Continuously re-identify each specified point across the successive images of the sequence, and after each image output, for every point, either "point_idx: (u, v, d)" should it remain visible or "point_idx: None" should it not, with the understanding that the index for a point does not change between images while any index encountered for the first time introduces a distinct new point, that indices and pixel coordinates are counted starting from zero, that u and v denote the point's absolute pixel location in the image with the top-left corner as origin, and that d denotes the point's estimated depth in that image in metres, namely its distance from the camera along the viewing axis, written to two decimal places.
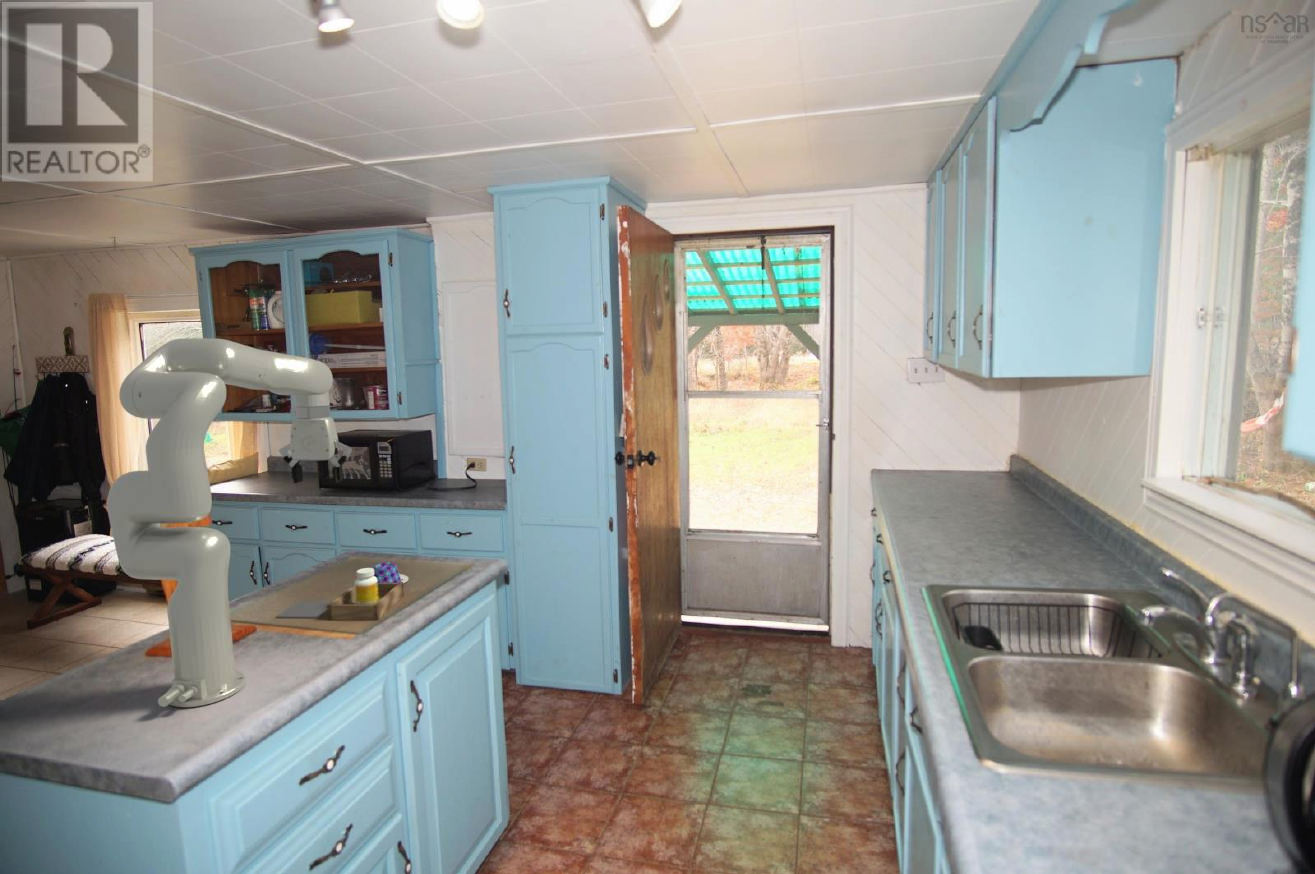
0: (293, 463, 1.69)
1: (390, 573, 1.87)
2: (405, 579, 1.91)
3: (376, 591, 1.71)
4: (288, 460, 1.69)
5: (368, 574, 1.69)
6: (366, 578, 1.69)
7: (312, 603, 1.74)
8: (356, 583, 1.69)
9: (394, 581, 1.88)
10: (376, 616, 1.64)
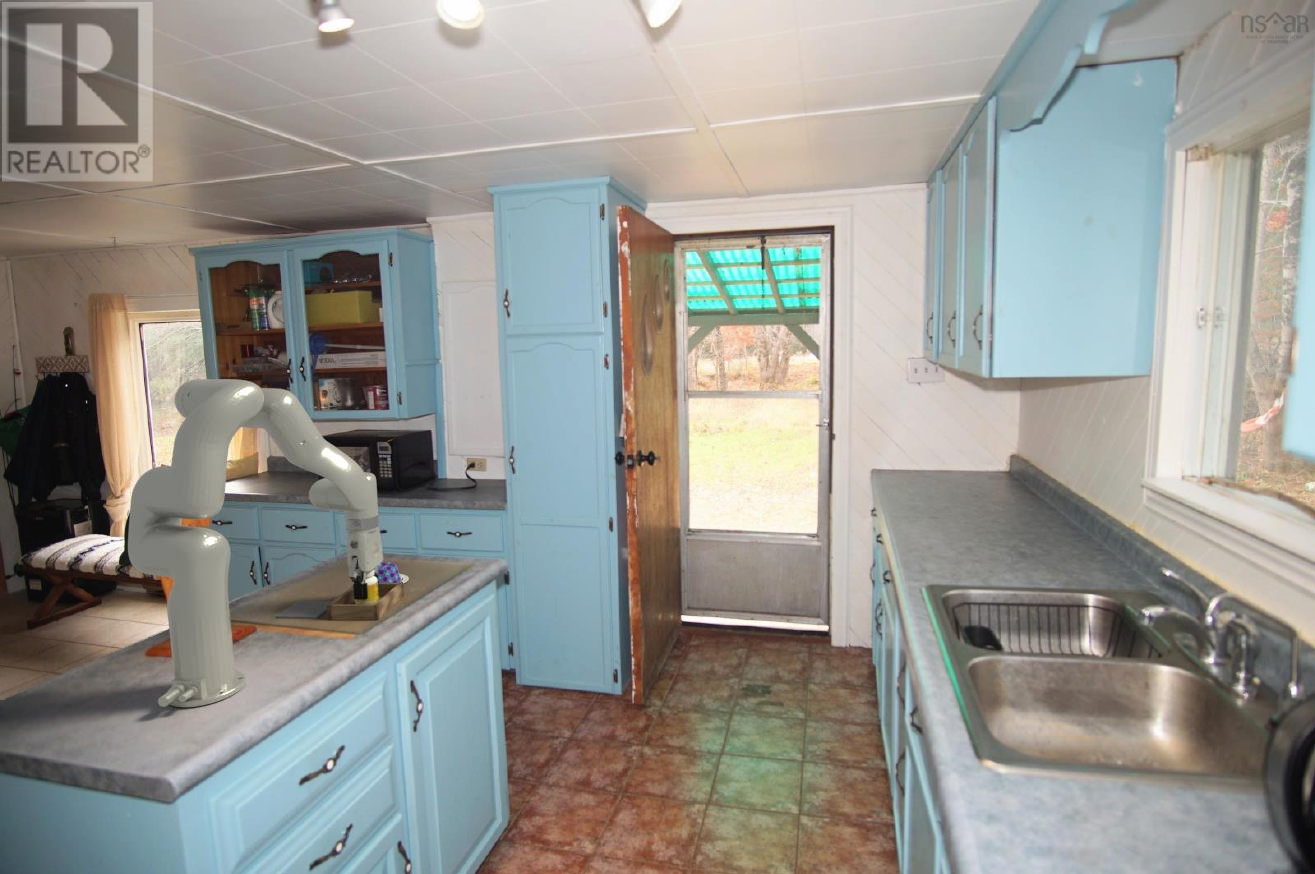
0: (364, 579, 1.67)
1: (390, 573, 1.87)
2: (405, 579, 1.91)
3: (376, 591, 1.71)
4: (360, 579, 1.66)
5: (368, 574, 1.69)
6: (366, 578, 1.69)
7: (312, 603, 1.74)
8: None
9: (394, 581, 1.88)
10: (376, 616, 1.64)
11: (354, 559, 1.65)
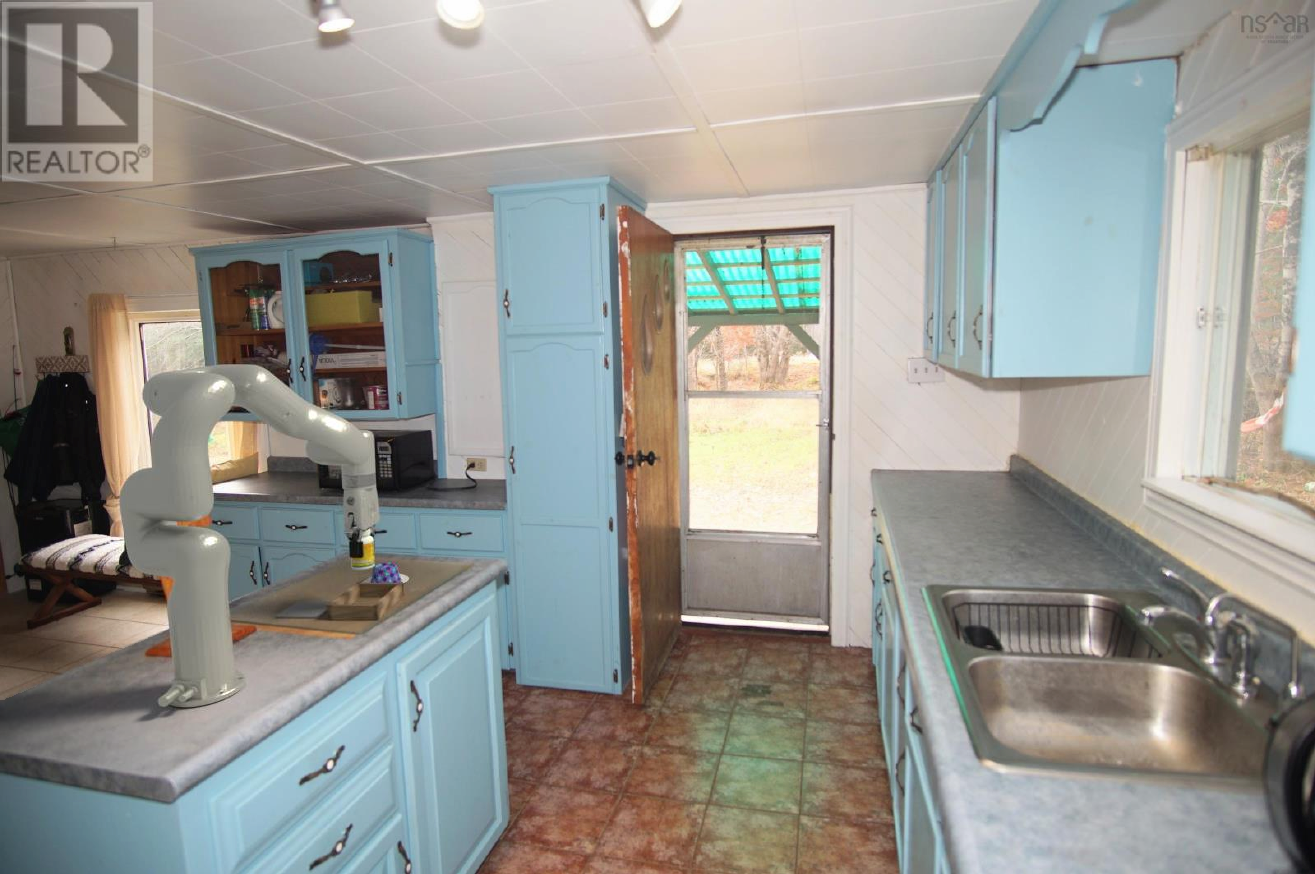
0: (360, 537, 1.65)
1: (390, 573, 1.87)
2: (405, 579, 1.91)
3: (372, 550, 1.69)
4: (356, 536, 1.64)
5: (364, 532, 1.67)
6: (362, 537, 1.67)
7: (312, 603, 1.74)
8: None
9: (393, 581, 1.88)
10: (376, 616, 1.64)
11: (350, 516, 1.63)
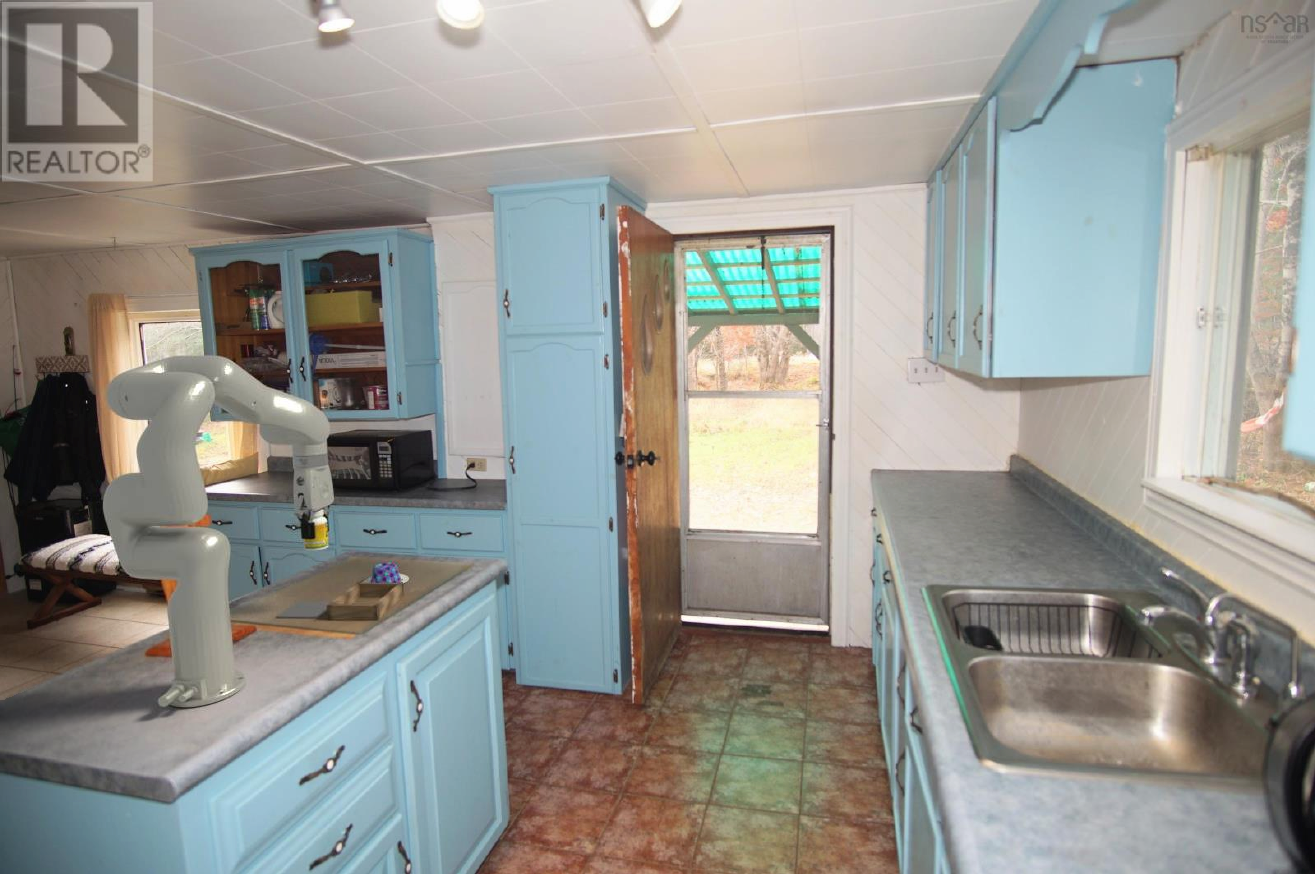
0: (312, 518, 1.64)
1: (389, 573, 1.87)
2: (405, 579, 1.91)
3: (325, 532, 1.67)
4: (306, 517, 1.62)
5: (316, 513, 1.66)
6: (314, 518, 1.66)
7: (312, 603, 1.74)
8: None
9: (393, 581, 1.88)
10: (376, 616, 1.64)
11: (300, 496, 1.62)
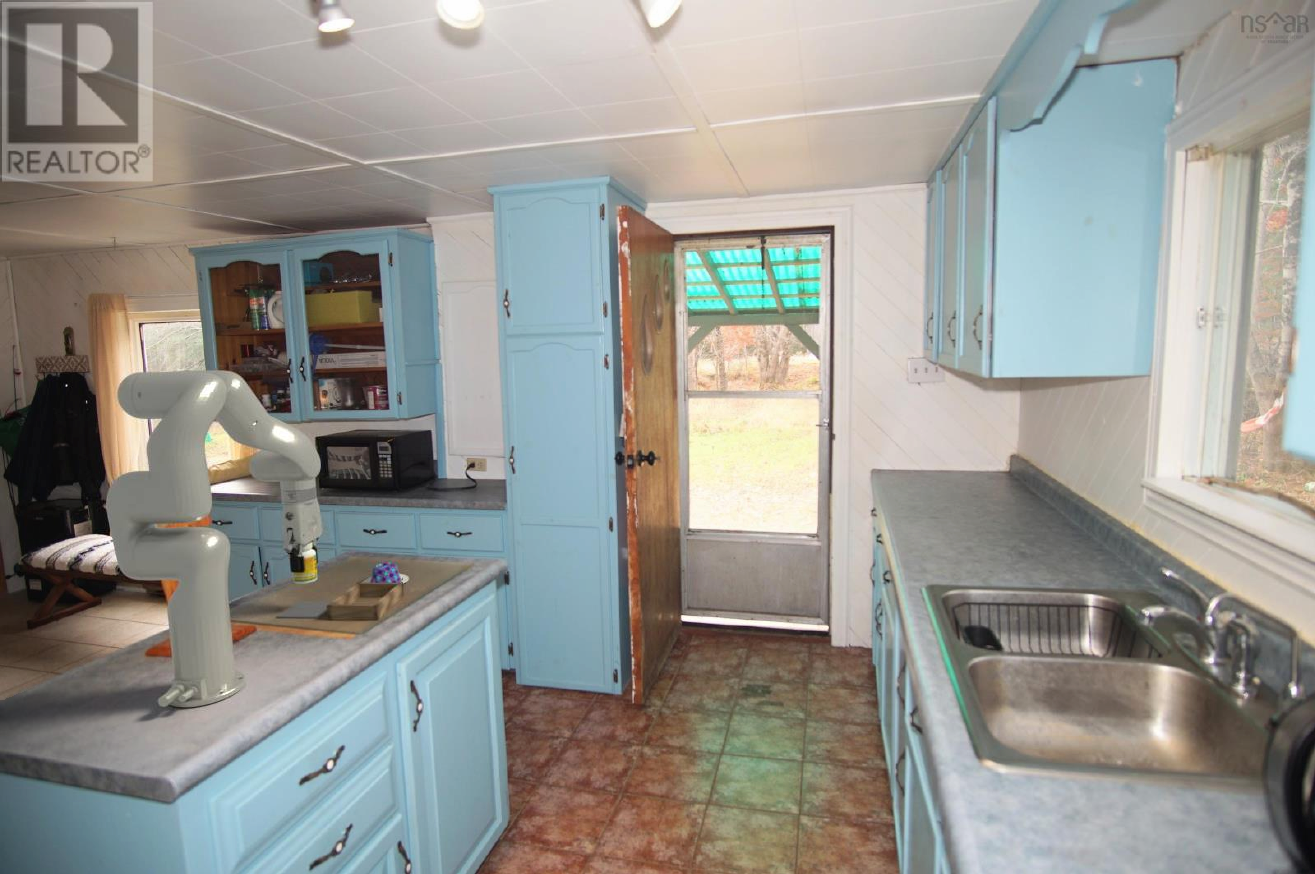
0: (301, 551, 1.65)
1: (389, 573, 1.87)
2: (405, 580, 1.91)
3: (314, 564, 1.68)
4: (295, 551, 1.63)
5: (305, 546, 1.67)
6: (303, 551, 1.67)
7: (312, 603, 1.74)
8: None
9: (393, 581, 1.87)
10: (376, 616, 1.64)
11: (289, 531, 1.62)
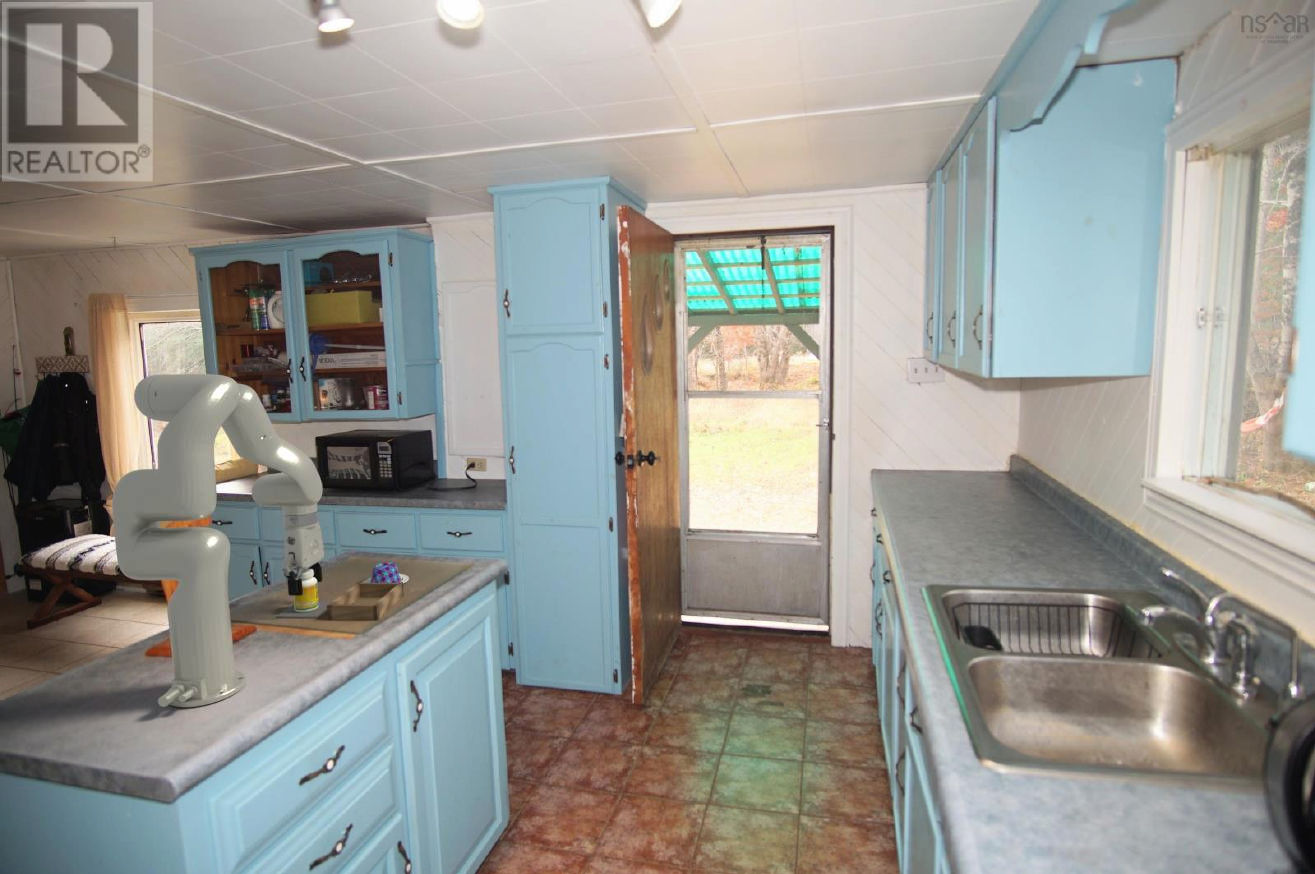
0: (299, 575, 1.64)
1: (389, 573, 1.87)
2: (405, 580, 1.91)
3: (315, 592, 1.69)
4: (293, 574, 1.62)
5: (307, 575, 1.67)
6: (304, 579, 1.67)
7: None
8: None
9: (392, 582, 1.87)
10: (376, 616, 1.64)
11: (291, 554, 1.63)
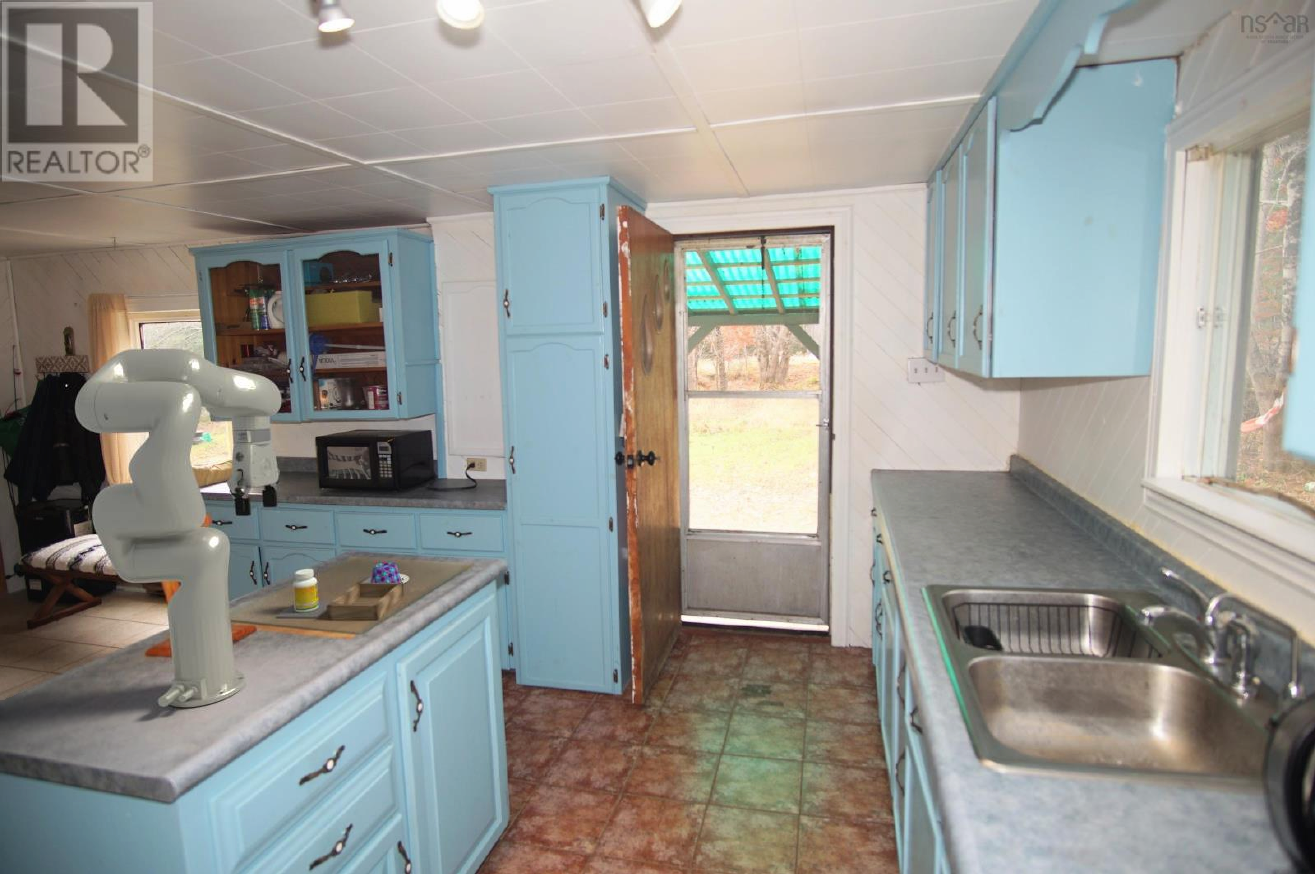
0: (247, 493, 1.54)
1: (388, 573, 1.87)
2: (405, 580, 1.90)
3: (315, 592, 1.69)
4: (240, 492, 1.52)
5: (307, 575, 1.67)
6: (304, 580, 1.67)
7: None
8: (294, 584, 1.67)
9: (392, 582, 1.87)
10: (376, 616, 1.64)
11: (238, 470, 1.53)
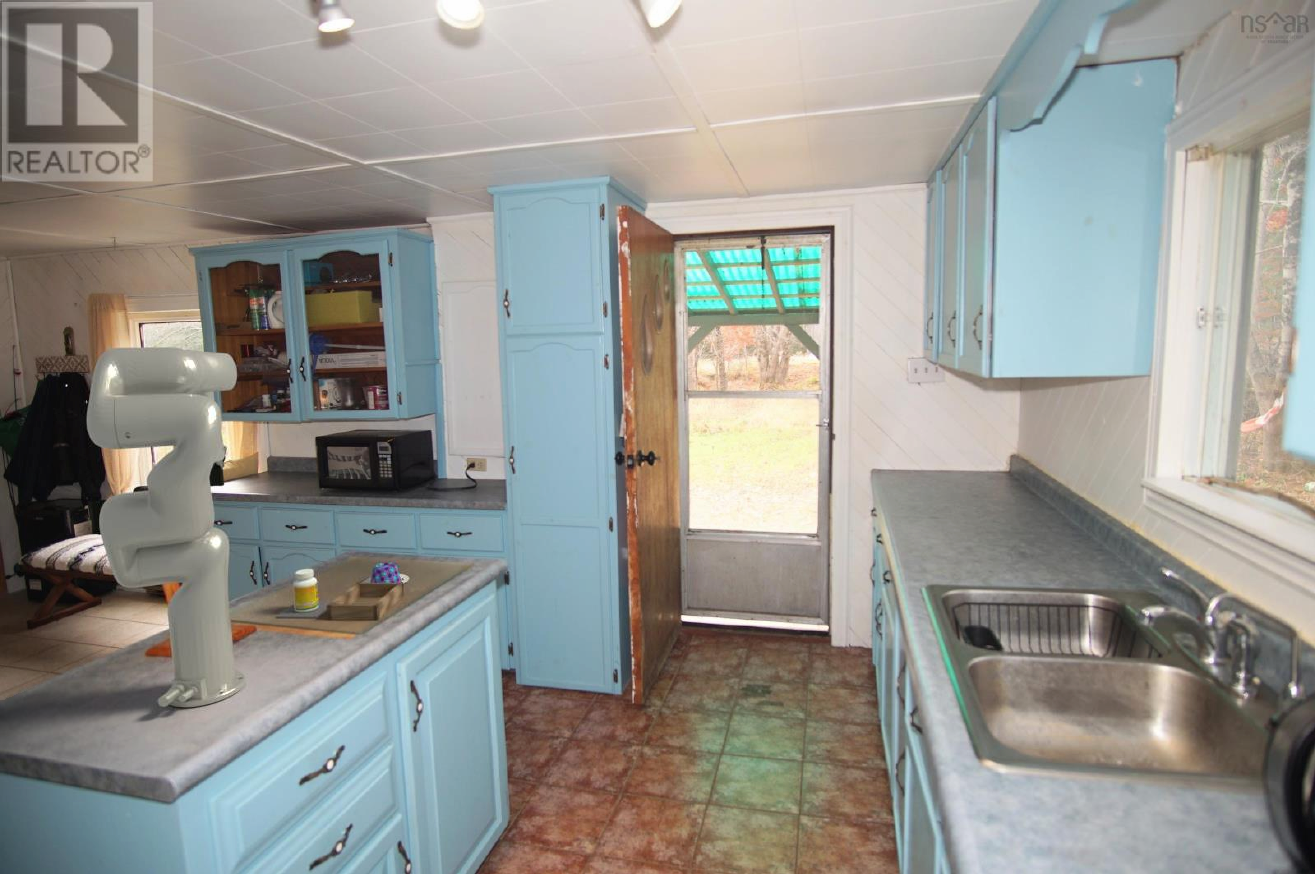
0: None
1: (388, 573, 1.87)
2: (405, 580, 1.90)
3: (315, 592, 1.69)
4: None
5: (307, 575, 1.67)
6: (304, 580, 1.67)
7: None
8: (294, 584, 1.67)
9: (391, 582, 1.87)
10: (376, 616, 1.64)
11: None
